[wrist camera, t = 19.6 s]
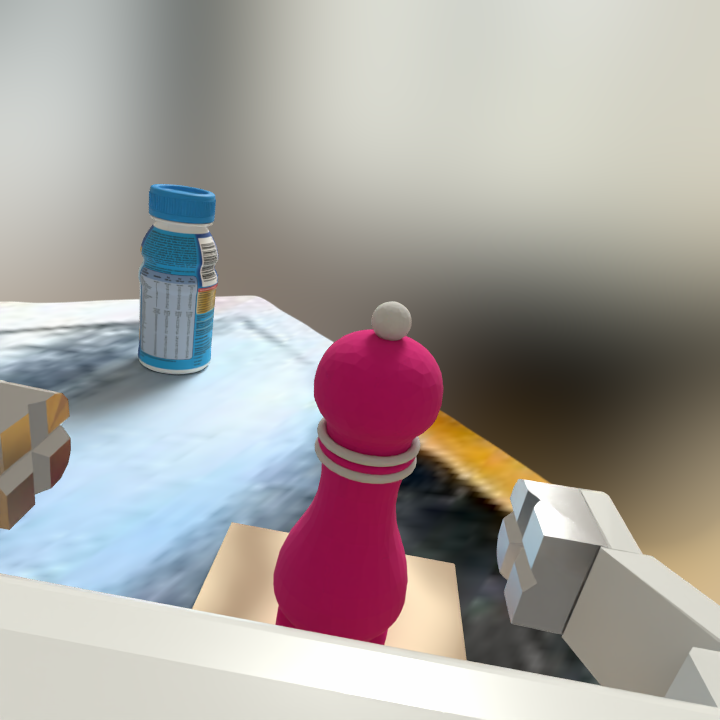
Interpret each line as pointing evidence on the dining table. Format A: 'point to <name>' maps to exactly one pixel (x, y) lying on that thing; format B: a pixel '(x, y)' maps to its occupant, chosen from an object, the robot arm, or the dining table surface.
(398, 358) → the pepper mill
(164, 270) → the beverage bottle
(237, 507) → the dining table surface
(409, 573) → the oak board
